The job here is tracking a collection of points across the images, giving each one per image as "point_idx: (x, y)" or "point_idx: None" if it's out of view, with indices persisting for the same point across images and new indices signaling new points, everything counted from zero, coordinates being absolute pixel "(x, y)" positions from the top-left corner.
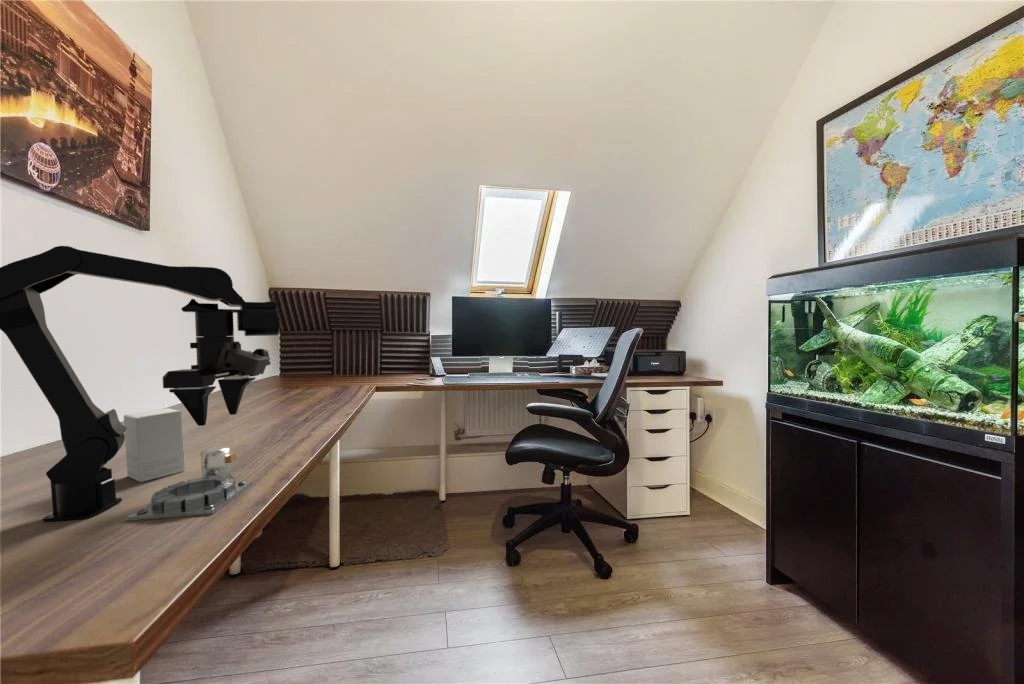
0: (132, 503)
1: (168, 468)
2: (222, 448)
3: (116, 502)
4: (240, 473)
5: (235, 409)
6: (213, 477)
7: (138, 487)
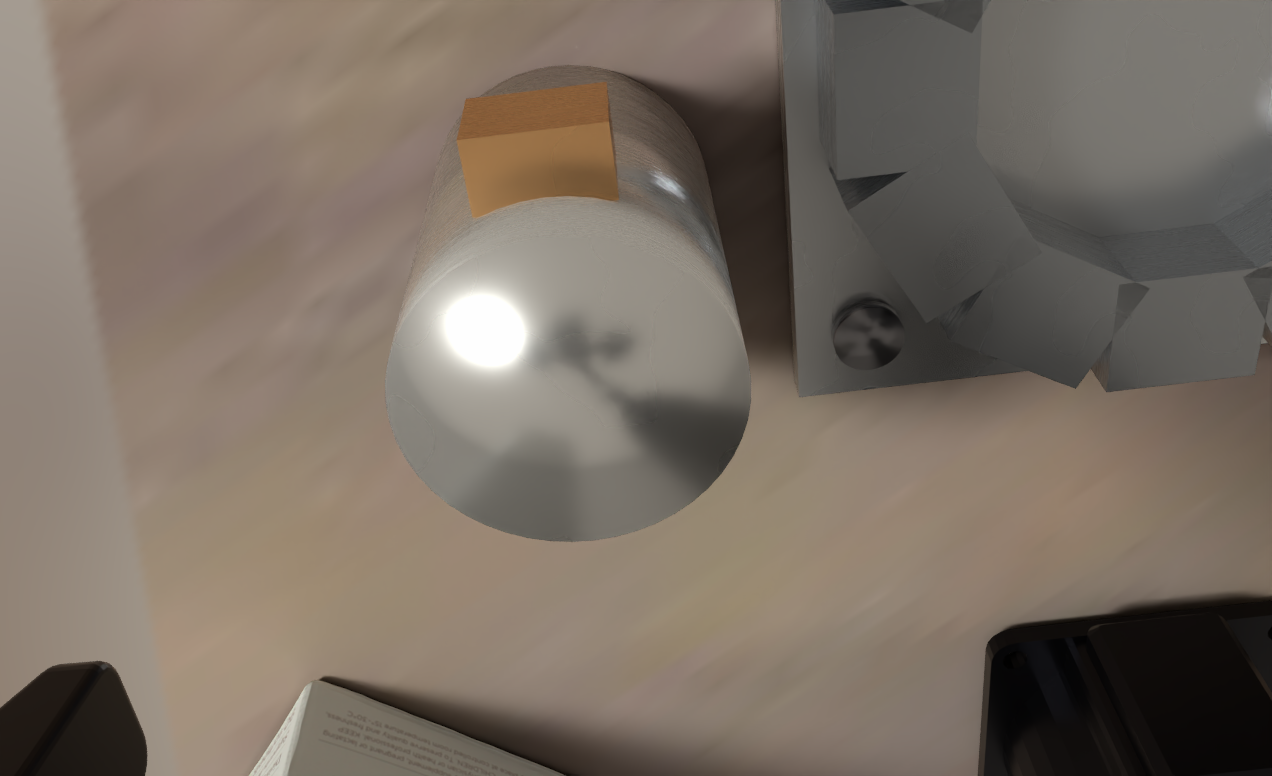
0: (1053, 532)
1: (422, 766)
2: (511, 342)
3: (1057, 629)
4: (344, 74)
5: (53, 756)
6: (892, 83)
7: (694, 728)
